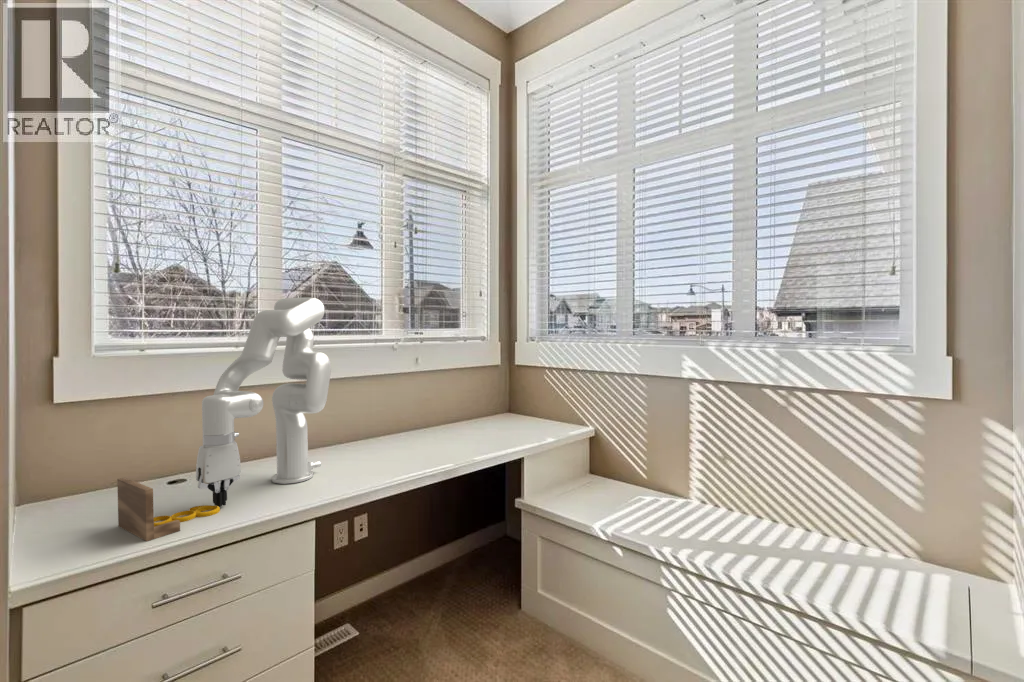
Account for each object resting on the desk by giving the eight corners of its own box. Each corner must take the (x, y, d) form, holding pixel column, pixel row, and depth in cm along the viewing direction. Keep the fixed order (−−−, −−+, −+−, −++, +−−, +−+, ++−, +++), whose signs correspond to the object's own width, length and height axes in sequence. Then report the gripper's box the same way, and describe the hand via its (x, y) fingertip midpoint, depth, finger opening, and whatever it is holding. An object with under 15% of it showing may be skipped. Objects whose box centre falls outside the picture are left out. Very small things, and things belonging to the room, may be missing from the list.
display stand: (150, 517, 128) (149, 472, 128) (180, 530, 119) (179, 482, 119) (118, 526, 122) (117, 479, 122) (146, 541, 113) (145, 490, 113)
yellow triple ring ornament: (223, 516, 129) (215, 506, 136) (223, 510, 129) (215, 501, 136) (146, 534, 118) (142, 522, 125) (146, 528, 118) (142, 516, 125)
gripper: (238, 433, 143) (239, 494, 143) (182, 443, 130) (183, 510, 130) (252, 436, 139) (254, 499, 139) (196, 446, 126) (197, 516, 126)
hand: (220, 504), depth 135 cm, fingers closed
